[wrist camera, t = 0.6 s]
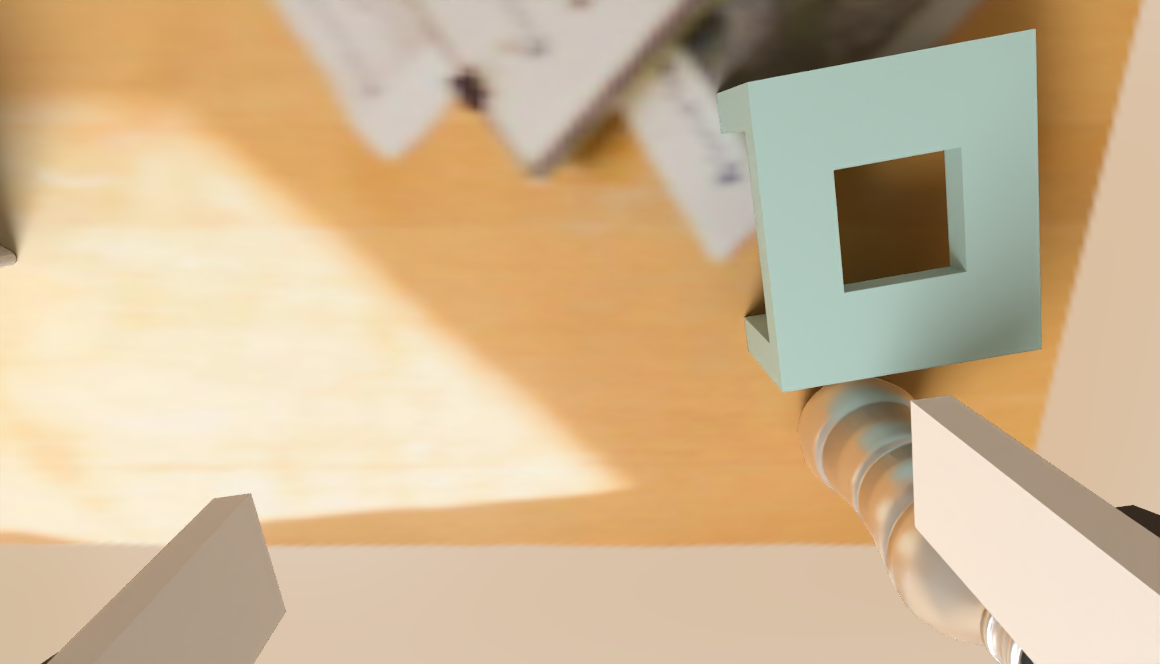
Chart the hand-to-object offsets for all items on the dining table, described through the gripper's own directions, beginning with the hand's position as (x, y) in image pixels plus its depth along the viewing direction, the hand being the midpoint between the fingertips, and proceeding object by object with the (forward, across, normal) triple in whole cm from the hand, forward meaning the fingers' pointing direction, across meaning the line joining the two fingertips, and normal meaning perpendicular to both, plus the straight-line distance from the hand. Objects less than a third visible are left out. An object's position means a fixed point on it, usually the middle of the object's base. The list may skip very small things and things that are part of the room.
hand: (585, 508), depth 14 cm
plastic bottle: (+26, +14, -11) cm, 31 cm away
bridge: (+26, +14, +1) cm, 30 cm away
